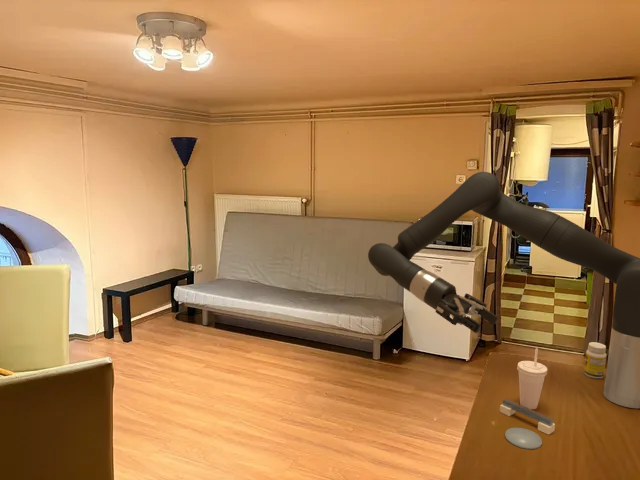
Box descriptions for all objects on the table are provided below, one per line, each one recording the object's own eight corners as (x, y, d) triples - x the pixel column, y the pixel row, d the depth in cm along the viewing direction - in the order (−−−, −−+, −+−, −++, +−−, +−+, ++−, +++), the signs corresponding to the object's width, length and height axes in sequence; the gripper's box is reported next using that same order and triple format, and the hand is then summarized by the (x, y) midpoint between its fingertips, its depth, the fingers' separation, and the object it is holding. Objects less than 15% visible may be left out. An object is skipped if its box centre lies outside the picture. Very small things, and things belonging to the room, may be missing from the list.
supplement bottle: (585, 369, 134) (588, 340, 132) (604, 374, 131) (608, 344, 130) (582, 375, 130) (585, 345, 128) (602, 380, 127) (606, 350, 126)
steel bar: (502, 404, 112) (502, 399, 112) (505, 403, 112) (505, 398, 112) (549, 426, 103) (550, 421, 103) (552, 424, 104) (553, 419, 104)
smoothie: (546, 413, 111) (552, 355, 109) (516, 410, 112) (521, 353, 110) (540, 399, 117) (545, 344, 115) (511, 396, 119) (516, 342, 116)
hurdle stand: (499, 411, 112) (500, 405, 112) (505, 408, 113) (506, 401, 113) (548, 434, 103) (549, 427, 103) (554, 430, 104) (555, 423, 104)
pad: (510, 425, 106) (510, 423, 106) (545, 436, 102) (545, 435, 102) (500, 440, 101) (501, 439, 101) (537, 453, 97) (537, 451, 97)
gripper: (421, 281, 118) (479, 318, 108) (452, 273, 128) (507, 305, 118) (411, 307, 121) (467, 345, 111) (442, 297, 131) (495, 331, 121)
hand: (488, 325), depth 115 cm, fingers open, 8 cm apart
